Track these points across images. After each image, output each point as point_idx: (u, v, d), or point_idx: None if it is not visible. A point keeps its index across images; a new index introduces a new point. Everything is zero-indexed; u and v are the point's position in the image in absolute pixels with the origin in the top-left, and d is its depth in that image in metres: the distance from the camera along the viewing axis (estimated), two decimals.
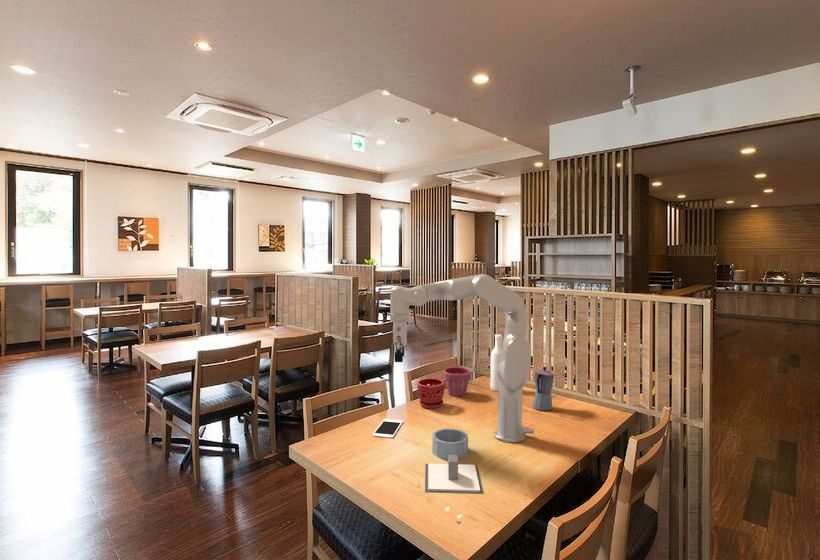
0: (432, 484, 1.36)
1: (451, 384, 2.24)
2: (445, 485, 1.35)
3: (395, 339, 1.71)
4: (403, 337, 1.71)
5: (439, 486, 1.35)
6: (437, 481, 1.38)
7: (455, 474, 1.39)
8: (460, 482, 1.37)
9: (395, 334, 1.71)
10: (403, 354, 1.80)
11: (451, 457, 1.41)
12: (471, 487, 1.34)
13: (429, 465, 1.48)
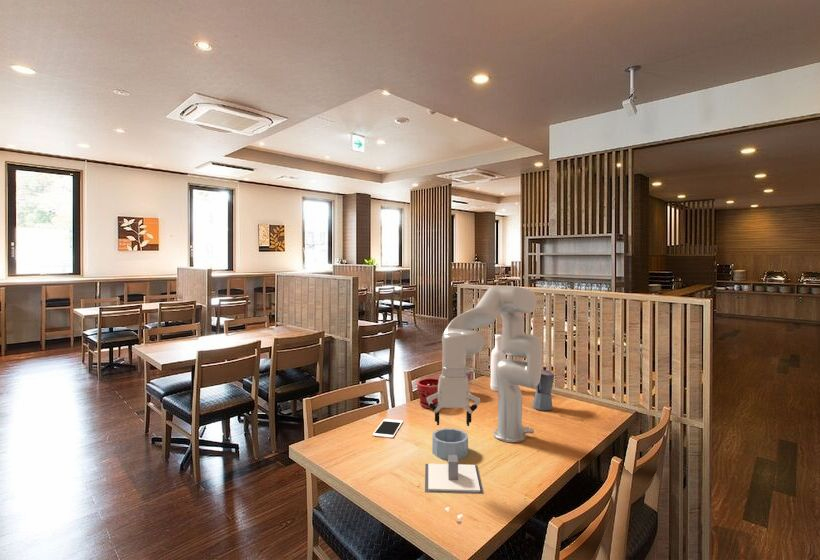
0: (432, 484, 1.36)
1: None
2: (445, 485, 1.35)
3: None
4: None
5: (439, 486, 1.35)
6: (437, 481, 1.38)
7: (455, 474, 1.39)
8: (460, 482, 1.37)
9: None
10: None
11: (451, 457, 1.41)
12: (471, 487, 1.34)
13: (429, 465, 1.48)
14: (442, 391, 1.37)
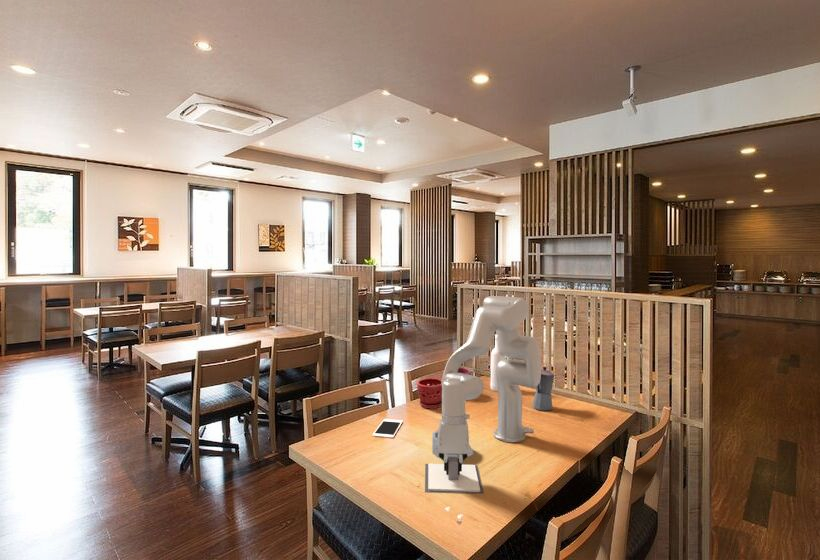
0: (432, 484, 1.36)
1: None
2: (445, 485, 1.35)
3: (468, 444, 1.39)
4: None
5: (439, 486, 1.35)
6: (437, 481, 1.38)
7: (455, 474, 1.39)
8: (460, 482, 1.37)
9: (468, 438, 1.39)
10: None
11: (451, 457, 1.41)
12: (471, 487, 1.34)
13: (429, 465, 1.48)
14: (442, 438, 1.38)
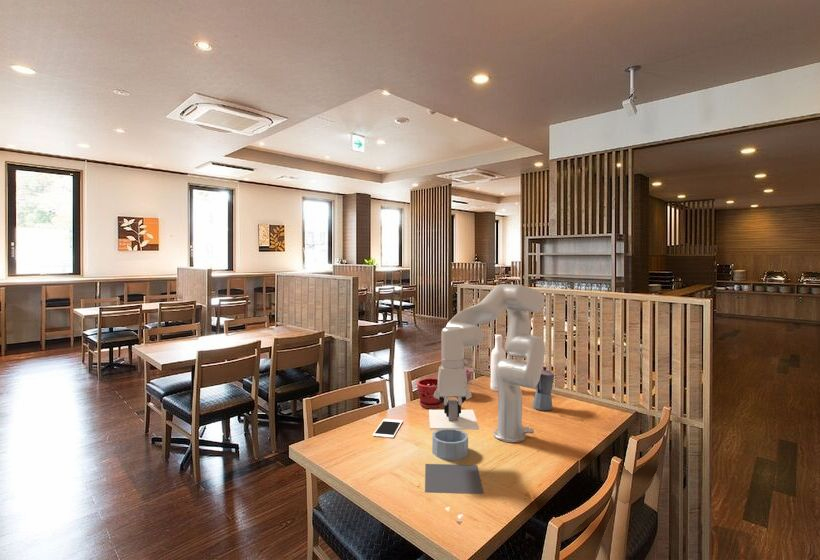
0: (433, 424, 1.44)
1: None
2: (446, 425, 1.43)
3: (467, 387, 1.47)
4: None
5: (440, 426, 1.43)
6: (438, 422, 1.46)
7: (454, 415, 1.47)
8: (459, 423, 1.45)
9: None
10: None
11: (451, 400, 1.49)
12: (470, 426, 1.42)
13: (430, 411, 1.56)
14: (442, 381, 1.46)
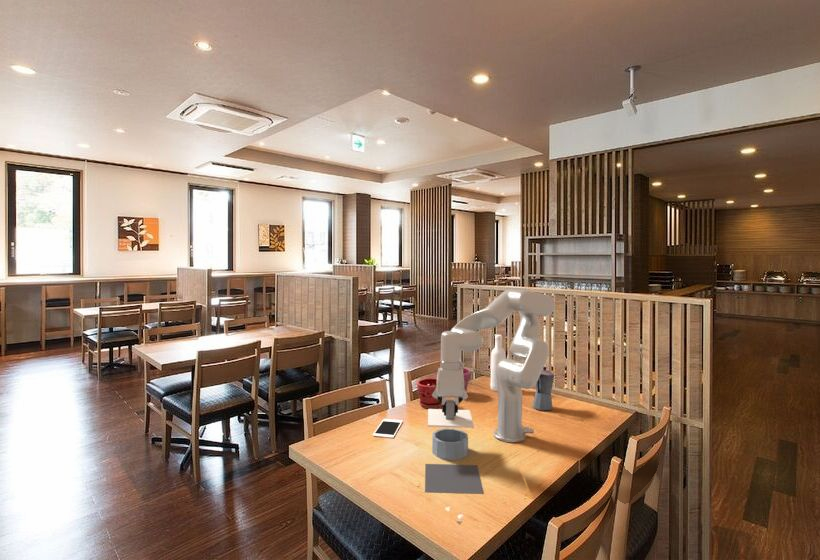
0: (431, 422, 1.54)
1: None
2: (443, 423, 1.53)
3: None
4: None
5: (438, 423, 1.53)
6: (435, 420, 1.56)
7: (451, 414, 1.57)
8: (456, 421, 1.55)
9: None
10: None
11: (448, 400, 1.59)
12: (466, 424, 1.52)
13: (429, 410, 1.66)
14: (440, 382, 1.56)
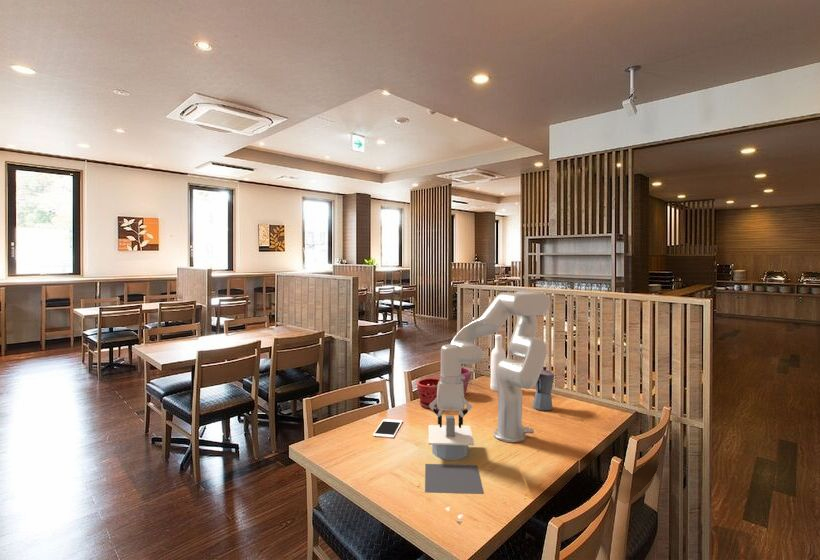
0: (432, 440, 1.55)
1: None
2: (443, 440, 1.54)
3: (464, 401, 1.58)
4: None
5: (438, 441, 1.54)
6: (436, 437, 1.57)
7: (452, 431, 1.57)
8: (456, 438, 1.56)
9: None
10: None
11: (449, 417, 1.60)
12: (466, 442, 1.53)
13: (429, 426, 1.67)
14: (440, 395, 1.57)
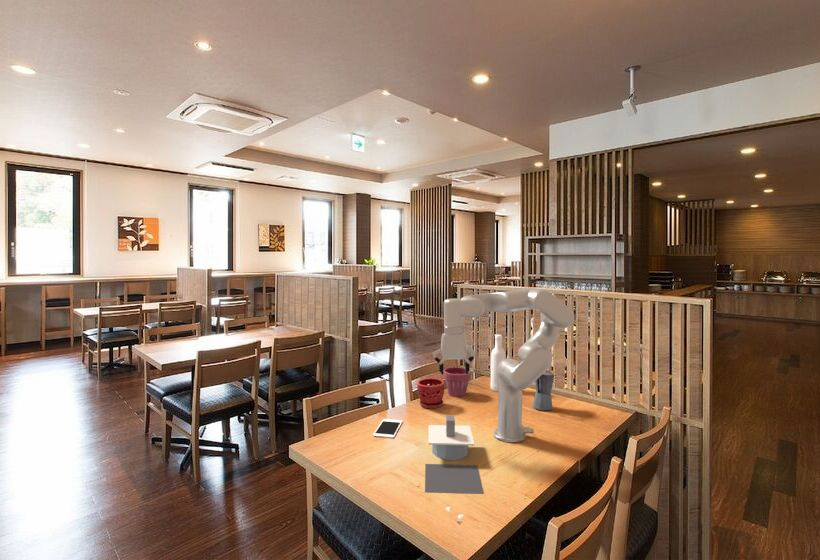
0: (432, 440, 1.55)
1: (451, 384, 2.24)
2: (443, 440, 1.54)
3: None
4: None
5: (438, 441, 1.54)
6: (436, 437, 1.57)
7: (452, 431, 1.57)
8: (456, 438, 1.56)
9: (466, 346, 1.68)
10: None
11: (449, 417, 1.60)
12: (466, 442, 1.53)
13: (429, 426, 1.67)
14: (445, 346, 1.67)
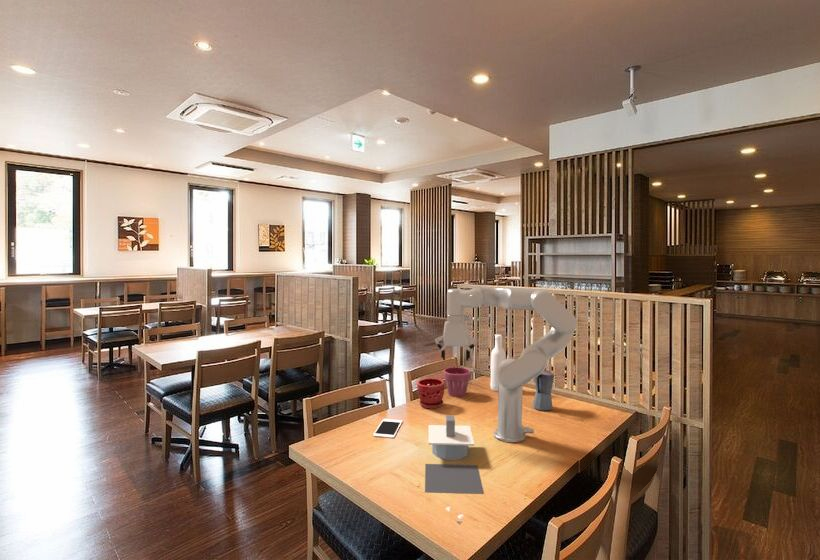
0: (432, 440, 1.55)
1: (451, 384, 2.24)
2: (443, 440, 1.54)
3: (468, 338, 1.77)
4: None
5: (438, 441, 1.54)
6: (436, 437, 1.57)
7: (452, 431, 1.57)
8: (456, 438, 1.56)
9: (467, 334, 1.77)
10: None
11: (449, 417, 1.60)
12: (466, 442, 1.53)
13: (429, 426, 1.67)
14: (447, 333, 1.77)
